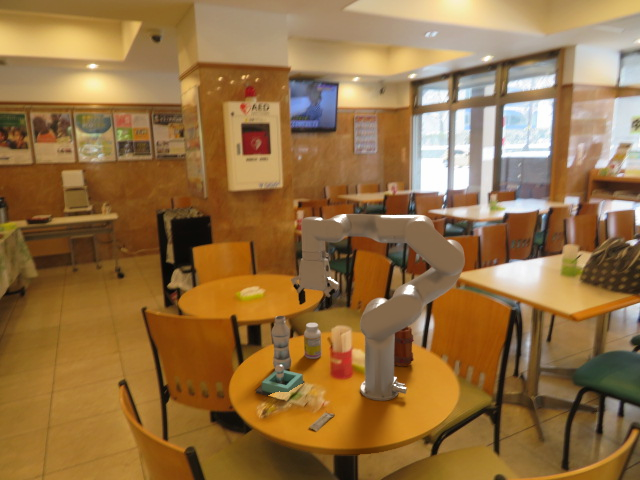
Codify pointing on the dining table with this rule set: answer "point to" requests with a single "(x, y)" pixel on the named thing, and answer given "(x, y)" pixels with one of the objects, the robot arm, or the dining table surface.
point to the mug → (403, 347)
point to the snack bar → (321, 421)
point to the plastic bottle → (281, 343)
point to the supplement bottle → (312, 341)
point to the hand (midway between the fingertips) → (315, 305)
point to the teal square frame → (273, 387)
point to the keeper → (279, 377)
